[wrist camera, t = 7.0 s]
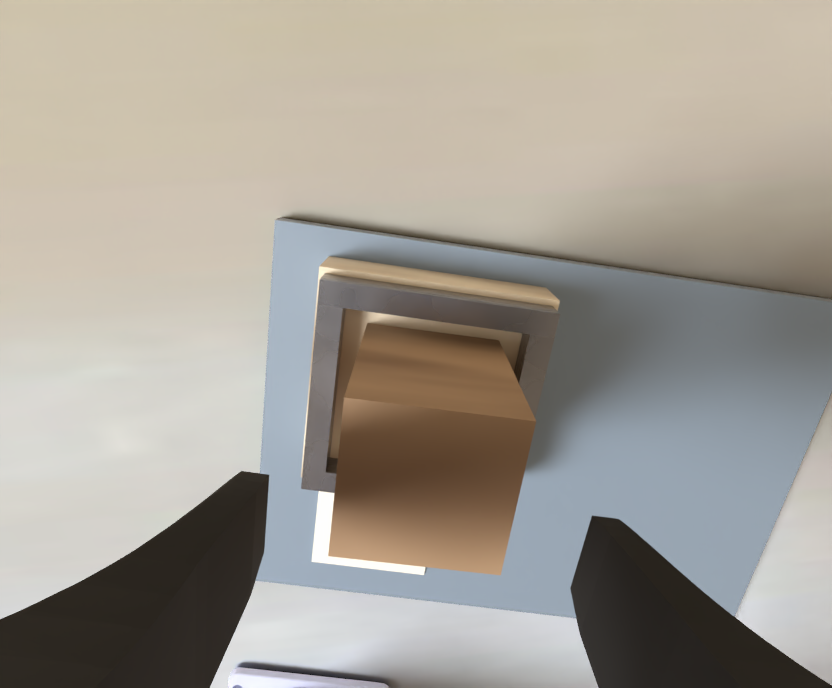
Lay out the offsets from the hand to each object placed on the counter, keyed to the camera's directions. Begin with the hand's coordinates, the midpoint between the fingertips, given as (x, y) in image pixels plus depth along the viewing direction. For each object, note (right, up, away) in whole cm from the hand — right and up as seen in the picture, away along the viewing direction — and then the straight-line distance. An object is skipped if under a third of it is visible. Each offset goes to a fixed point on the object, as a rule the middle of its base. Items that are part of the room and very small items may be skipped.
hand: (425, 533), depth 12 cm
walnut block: (0, +2, +7) cm, 7 cm away
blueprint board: (+4, 0, +11) cm, 12 cm away
